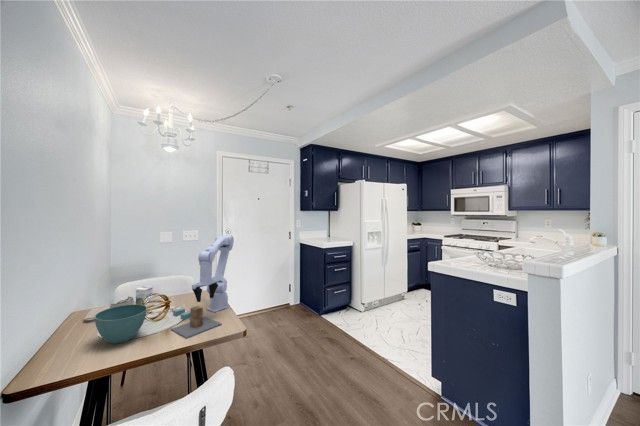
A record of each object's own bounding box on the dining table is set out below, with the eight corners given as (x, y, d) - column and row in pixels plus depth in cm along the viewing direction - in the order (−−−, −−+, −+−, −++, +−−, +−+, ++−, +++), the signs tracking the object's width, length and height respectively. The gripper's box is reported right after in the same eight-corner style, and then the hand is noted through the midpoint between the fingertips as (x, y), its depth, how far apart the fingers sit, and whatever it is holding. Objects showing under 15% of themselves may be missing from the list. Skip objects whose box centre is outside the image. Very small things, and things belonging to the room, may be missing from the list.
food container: (121, 324, 127) (122, 304, 127) (109, 324, 127) (109, 304, 127) (139, 314, 140) (140, 296, 140) (128, 314, 140) (128, 296, 140)
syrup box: (152, 311, 144) (153, 286, 144) (144, 315, 138) (145, 289, 138) (143, 311, 145) (143, 285, 145) (134, 315, 139) (135, 288, 139)
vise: (176, 309, 148) (176, 305, 148) (192, 317, 138) (193, 312, 138) (166, 312, 144) (166, 308, 144) (182, 320, 134) (182, 315, 134)
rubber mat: (205, 317, 138) (205, 316, 138) (221, 324, 130) (221, 323, 130) (170, 330, 123) (170, 328, 123) (186, 338, 115) (186, 337, 115)
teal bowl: (150, 327, 125) (151, 302, 125) (139, 345, 108) (140, 316, 108) (104, 333, 118) (105, 306, 118) (85, 353, 101) (86, 322, 101)
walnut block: (197, 323, 129) (197, 305, 129) (202, 325, 127) (202, 307, 127) (190, 326, 126) (190, 308, 126) (195, 328, 124) (195, 309, 124)
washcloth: (82, 324, 127) (82, 318, 127) (89, 312, 142) (90, 307, 142) (112, 320, 134) (112, 314, 134) (117, 308, 149) (117, 303, 149)
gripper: (213, 270, 144) (212, 294, 144) (188, 275, 132) (187, 301, 132) (221, 272, 141) (220, 297, 140) (196, 277, 128) (196, 304, 128)
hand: (205, 299), depth 136 cm, fingers open, 7 cm apart
